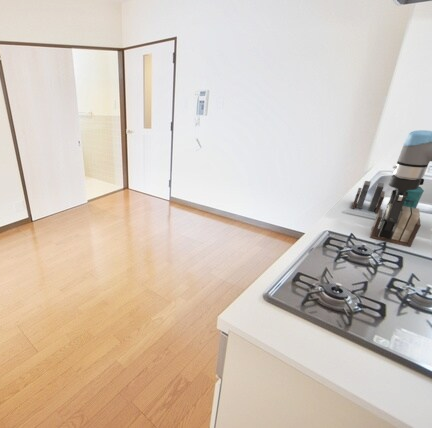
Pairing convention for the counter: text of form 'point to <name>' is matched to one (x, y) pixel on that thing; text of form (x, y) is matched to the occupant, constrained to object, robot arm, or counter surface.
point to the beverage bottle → (413, 196)
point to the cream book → (384, 218)
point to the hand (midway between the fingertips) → (384, 231)
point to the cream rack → (400, 227)
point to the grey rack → (376, 198)
